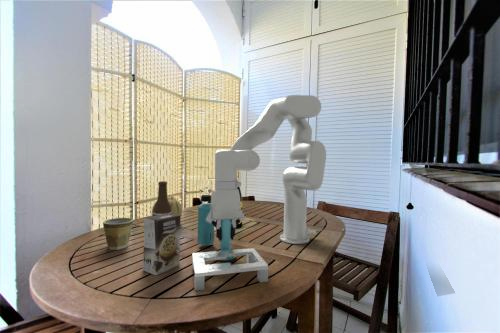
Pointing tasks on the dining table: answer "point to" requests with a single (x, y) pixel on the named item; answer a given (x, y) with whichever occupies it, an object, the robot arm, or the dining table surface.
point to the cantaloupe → (173, 206)
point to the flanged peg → (226, 237)
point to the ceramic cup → (117, 232)
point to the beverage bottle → (205, 223)
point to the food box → (161, 243)
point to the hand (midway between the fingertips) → (225, 238)
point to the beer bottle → (162, 201)
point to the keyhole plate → (227, 265)
